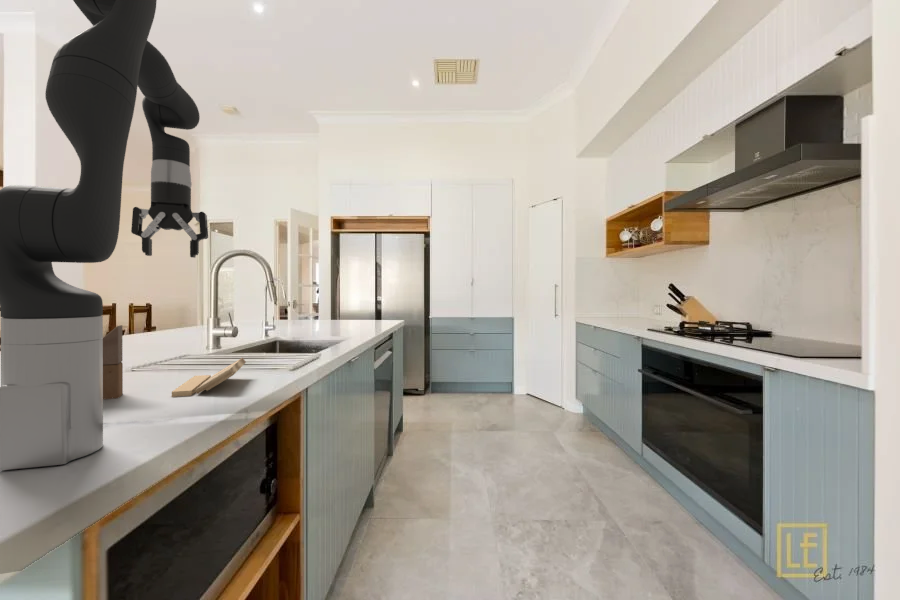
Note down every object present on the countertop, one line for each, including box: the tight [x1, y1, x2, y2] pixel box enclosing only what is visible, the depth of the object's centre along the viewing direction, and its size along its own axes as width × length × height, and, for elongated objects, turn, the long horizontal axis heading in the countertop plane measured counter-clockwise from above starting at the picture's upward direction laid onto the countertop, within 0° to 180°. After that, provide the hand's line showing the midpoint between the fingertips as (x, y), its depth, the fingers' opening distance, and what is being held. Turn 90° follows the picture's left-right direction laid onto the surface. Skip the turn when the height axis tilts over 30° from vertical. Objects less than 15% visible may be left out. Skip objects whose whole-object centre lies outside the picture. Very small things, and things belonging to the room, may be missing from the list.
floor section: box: [171, 374, 212, 398], centre depth 88 cm, size 17×12×2 cm
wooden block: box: [103, 324, 124, 400], centre depth 76 cm, size 4×11×18 cm, turn 118°
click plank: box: [195, 357, 247, 395], centre depth 88 cm, size 16×7×1 cm
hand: (171, 256), depth 94 cm, fingers open, 8 cm apart
